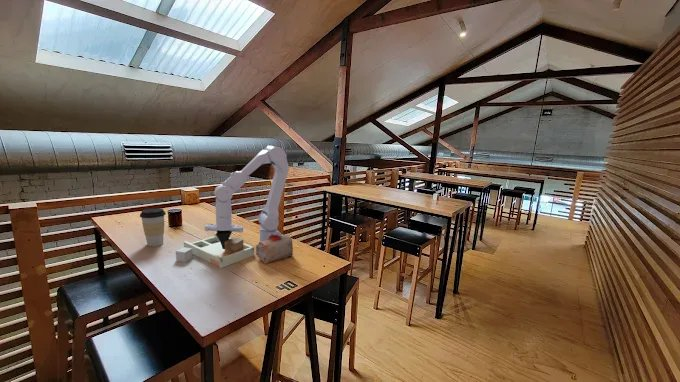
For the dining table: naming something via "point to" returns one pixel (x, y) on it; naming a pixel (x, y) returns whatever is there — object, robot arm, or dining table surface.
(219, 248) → the tray
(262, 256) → the grey-brown rough block
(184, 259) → the grey block
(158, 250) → the dining table surface
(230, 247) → the walnut block
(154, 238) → the coffee cup
